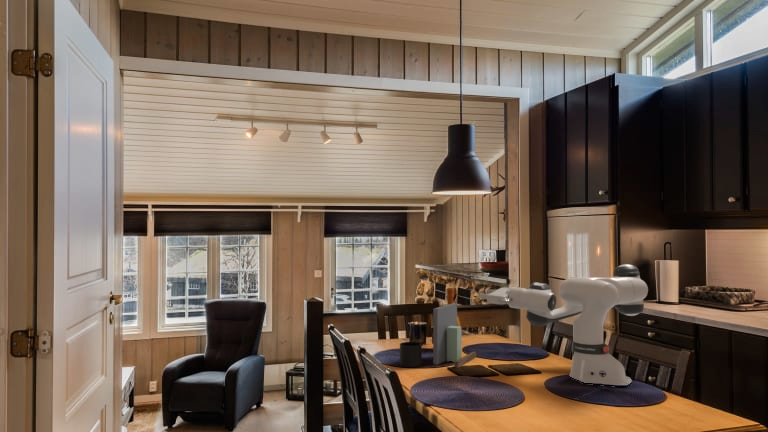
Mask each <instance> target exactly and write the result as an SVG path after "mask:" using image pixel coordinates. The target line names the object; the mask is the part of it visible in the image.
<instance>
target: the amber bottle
mask: <svg viewBox="0 0 768 432" xmlns="http://www.w3.org/2000/svg"><path fill="white" fill-rule="evenodd" d="M454 291H455V290H454V288H453V287H447V289H446V292H447V295H446V297H447V304H446V305H449V304H452V303H454V298H455V292H454ZM457 326H460V327H461V321H460V319H459V316H458V312H457Z"/></svg>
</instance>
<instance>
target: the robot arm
mask: <svg viewBox="0 0 768 432" xmlns="http://www.w3.org/2000/svg"><path fill="white" fill-rule="evenodd" d="M640 274H641V273H640V271H639V268H638V267H637V266H636V265H633V264H629V263H624V264H621V265H619V266H616V267H614V269H613V277H572V278H567V279H564V280H563V281H562V282H561V283H560V286H559V289H558V290H559V296H560V298H561V299H562V300H563V301H565V302H566V303H565V304H564V305H563V306H562V307H558V308H556V305H557V297H556V295H555V293H553V292H552V287H551V286H550V285H549V284H547V283H545V282H536V281H534V282H533V283H531V284H530V285H529V286H528V288H525V287H520V286H512V287H500V288H498V289H488V290H486V293H485V292H481V293H479V298H481V299H484V300H486V303H487V304H491V305H508V306H509V308H512V309H516V310H517V309H519V310H526V320H527V321H528V323H530V324H531V325H532V326H535V327H544V326H547V325H549V324H551V323H554V322H558V321H560V320H564V319H568V318H571V317H575V316H577V315H578V317H576V318H575V319H574V320H573V323H572V326H573V327H572V334H573V335H572V336H573V337H572V338H573V339H572V341H571V353H572V362H571V363H572V364H571V368H570V372H569V376H570V377H572V378H574V379H577V380H579V381H581V382H584V383H602V384H613V385H628V384H630V383H631V382H632V381H633V380H632V379H631V377H629V376H627V375H626V371H625V367H624V365H623V364H622V362H620V361H619V360H618V359H617V358H615V357H614V356H613V355H611V354H610V345H609V344H607V343H605V342H604V326H605V325H604V324H605V321H606V320H605V319H606V317H607V316H608V315H607V314H608V313H609V311H610V310H611V309H613V308H615V310H616V311H617V312H618V313H620V314H622V315H625V316H630V317H633V316H637V315H639V314H642V313H643V312H644V307H645V304H644V299H646V297H647V296H648V294H649V293H648V292H649V287H648V284H647V283H646V282H645V280H643V279H641V277H640ZM555 308H556V309H555ZM570 377H569V378H570ZM572 378H571V379H572ZM574 379H573V380H574ZM577 380H576V381H577ZM579 381H578V382H579ZM581 382H580V383H581ZM632 383H633V382H632Z"/></svg>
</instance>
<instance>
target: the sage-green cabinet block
mask: <svg viewBox="0 0 768 432" xmlns="http://www.w3.org/2000/svg"><path fill="white" fill-rule="evenodd" d="M460 358H462V326H461V325H460V326H449V327H447V360H446V362H449V361H452V363H455V361H456V360H458V359H460Z"/></svg>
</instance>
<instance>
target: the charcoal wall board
mask: <svg viewBox="0 0 768 432" xmlns="http://www.w3.org/2000/svg"><path fill="white" fill-rule="evenodd" d="M432 310H433V312H432V313H433V314H432V317H433V319H432V321H433V322H432V325H433V327H432V328H433V330H432V331H433V332H432V333H433V335H432V337H433V338H432V339H433V340H432V342H433V344H432V345H433V348H432V352H433V353H432V354H433V356H432V357H433V362H432V363H433V364H432V365H434V364H435V366H436V365H437V366H438V365H440V364H442V363H444V362H446V361H447V327H449V326H457V316H458V314H457V313H458V303H454V302H453V303H452V304H449V305H447V304H446V305H442V306H439V307H435V308H433V309H432ZM476 358H477V351H472V352H469V353H468V354H466V355H464V356H463V357H462V356H461V358H460V359H458V360H456V361H455V362H454V368H461V367H462V366H464V365H466V364H467V363H469V362H470V361H473V360H475V359H476ZM445 360H446V361H445Z"/></svg>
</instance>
